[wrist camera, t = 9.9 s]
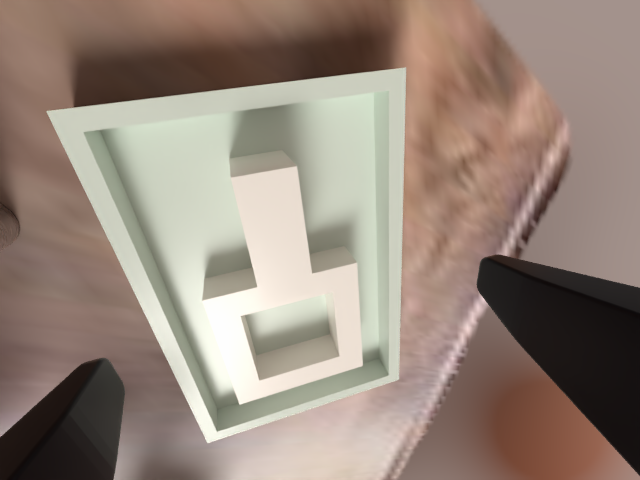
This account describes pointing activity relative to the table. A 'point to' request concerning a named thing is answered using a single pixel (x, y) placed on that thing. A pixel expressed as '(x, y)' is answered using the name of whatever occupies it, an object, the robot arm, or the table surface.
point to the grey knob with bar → (7, 227)
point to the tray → (226, 227)
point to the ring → (281, 285)
